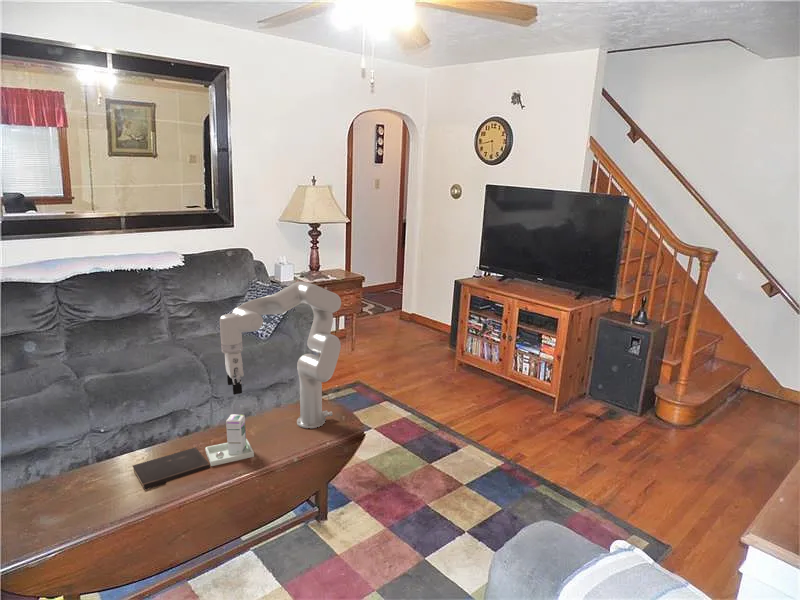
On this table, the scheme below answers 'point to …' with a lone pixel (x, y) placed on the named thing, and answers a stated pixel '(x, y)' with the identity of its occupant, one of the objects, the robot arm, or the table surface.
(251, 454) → the tray
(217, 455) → the mixing ball
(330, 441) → the table surface
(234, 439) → the syrup box
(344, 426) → the table surface
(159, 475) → the hardcover book
